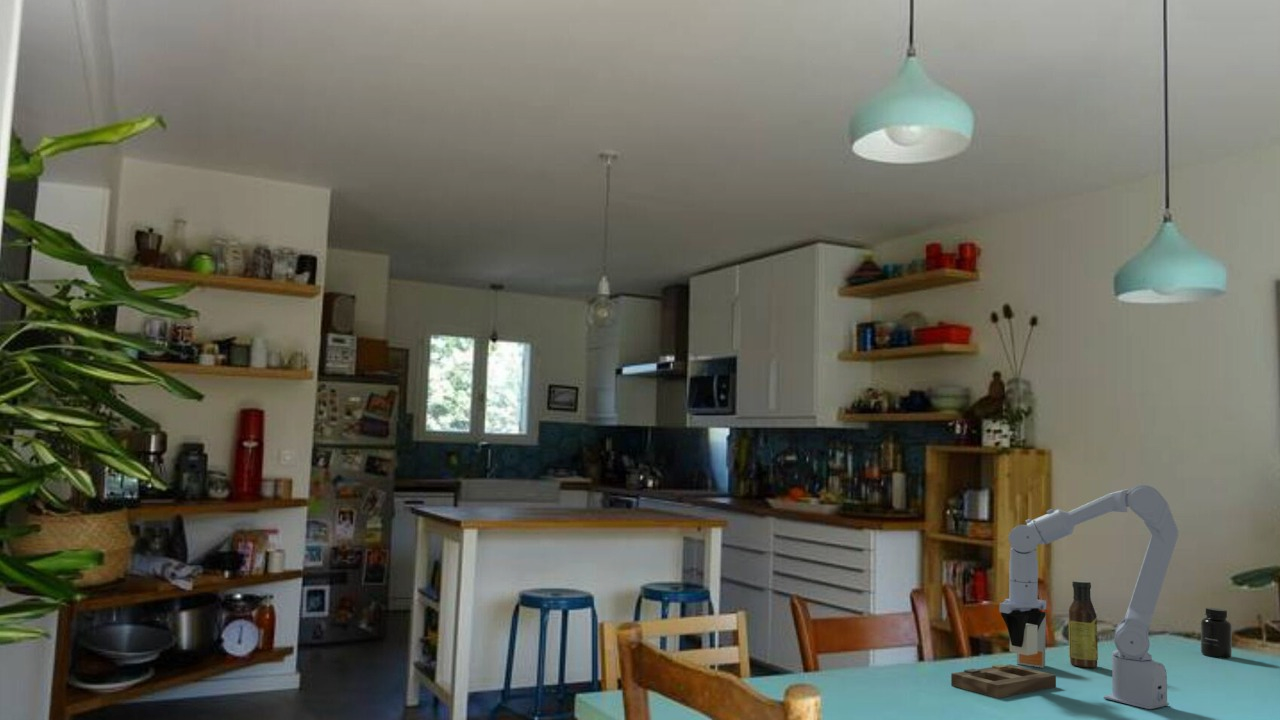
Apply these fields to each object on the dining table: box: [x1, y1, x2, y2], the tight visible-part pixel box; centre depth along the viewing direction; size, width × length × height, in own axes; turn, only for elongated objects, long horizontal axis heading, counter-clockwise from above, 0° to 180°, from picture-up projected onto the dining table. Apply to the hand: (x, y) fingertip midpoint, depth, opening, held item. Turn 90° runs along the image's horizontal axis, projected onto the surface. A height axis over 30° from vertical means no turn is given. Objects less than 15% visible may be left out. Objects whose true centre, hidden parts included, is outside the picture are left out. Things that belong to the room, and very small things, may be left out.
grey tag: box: [963, 668, 981, 674], centre depth 199 cm, size 2×3×1 cm, turn 125°
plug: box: [1009, 623, 1038, 655], centre depth 200 cm, size 4×4×6 cm
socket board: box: [950, 663, 1057, 699], centre depth 198 cm, size 11×21×2 cm, turn 125°
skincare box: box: [1016, 614, 1047, 669], centre depth 222 cm, size 6×4×12 cm
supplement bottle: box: [1200, 607, 1233, 659], centre depth 244 cm, size 7×7×12 cm
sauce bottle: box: [1068, 580, 1099, 669], centre depth 224 cm, size 7×6×20 cm
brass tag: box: [991, 663, 1008, 669], centre depth 205 cm, size 2×3×1 cm, turn 125°
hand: (1022, 645), depth 200 cm, fingers closed on plug, 4 cm apart
